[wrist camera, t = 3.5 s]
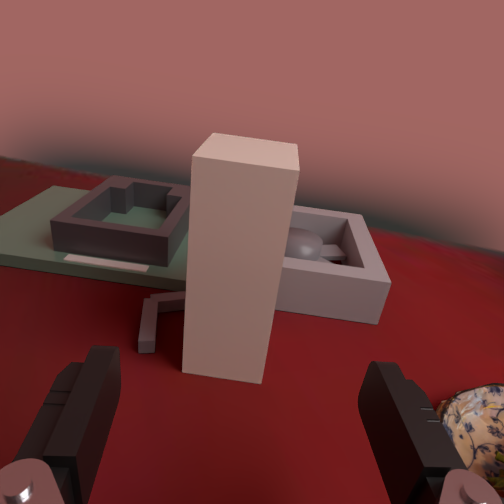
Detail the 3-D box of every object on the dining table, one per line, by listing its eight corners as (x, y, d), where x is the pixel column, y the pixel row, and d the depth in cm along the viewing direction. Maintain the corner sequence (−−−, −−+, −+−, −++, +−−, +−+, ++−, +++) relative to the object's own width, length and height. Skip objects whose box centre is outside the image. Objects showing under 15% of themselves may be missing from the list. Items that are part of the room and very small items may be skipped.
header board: (-48, 258, 28) (-60, 213, 27) (54, 194, 41) (50, 161, 39) (196, 293, 28) (198, 251, 26) (224, 219, 40) (227, 186, 39)
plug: (181, 372, 21) (191, 155, 16) (204, 304, 27) (217, 127, 22) (261, 384, 21) (299, 170, 16) (266, 313, 27) (296, 138, 21)
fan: (121, 350, 22) (118, 300, 21) (191, 224, 38) (192, 190, 37) (399, 392, 22) (418, 344, 20) (352, 247, 38) (361, 214, 36)
